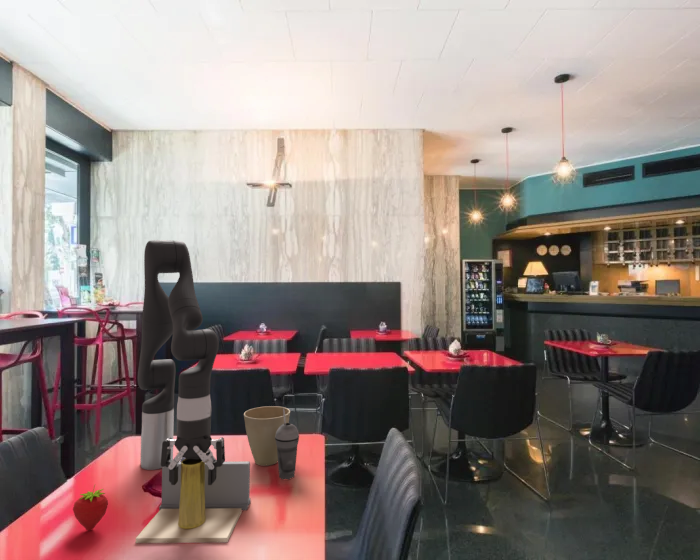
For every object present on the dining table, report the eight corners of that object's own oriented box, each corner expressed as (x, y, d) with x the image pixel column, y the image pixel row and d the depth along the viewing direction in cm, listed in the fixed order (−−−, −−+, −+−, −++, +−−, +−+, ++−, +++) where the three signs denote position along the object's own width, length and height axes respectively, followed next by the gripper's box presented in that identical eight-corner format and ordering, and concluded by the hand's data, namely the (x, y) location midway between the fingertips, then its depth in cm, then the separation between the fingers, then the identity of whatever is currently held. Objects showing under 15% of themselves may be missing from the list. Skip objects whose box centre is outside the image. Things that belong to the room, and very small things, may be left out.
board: (135, 543, 87) (135, 538, 87) (160, 512, 99) (161, 508, 99) (227, 542, 87) (227, 537, 87) (241, 512, 99) (241, 508, 99)
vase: (211, 518, 94) (212, 457, 95) (191, 532, 89) (192, 467, 89) (192, 512, 97) (193, 453, 97) (171, 525, 91) (173, 462, 92)
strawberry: (86, 521, 95) (87, 478, 95) (114, 523, 94) (115, 480, 94) (64, 535, 89) (66, 490, 90) (94, 538, 88) (95, 493, 88)
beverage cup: (294, 482, 114) (294, 413, 115) (270, 480, 116) (271, 411, 117) (302, 472, 122) (302, 406, 122) (279, 469, 123) (280, 404, 124)
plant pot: (299, 458, 132) (299, 409, 132) (267, 475, 119) (267, 421, 120) (266, 449, 140) (266, 403, 140) (233, 464, 127) (233, 414, 128)
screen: (159, 510, 100) (160, 466, 100) (166, 502, 104) (167, 459, 104) (246, 510, 100) (247, 465, 100) (250, 502, 104) (250, 459, 104)
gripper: (156, 419, 90) (154, 491, 89) (219, 419, 90) (218, 491, 90) (170, 409, 97) (169, 476, 97) (228, 409, 98) (227, 476, 97)
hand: (192, 483), depth 93 cm, fingers open, 8 cm apart
